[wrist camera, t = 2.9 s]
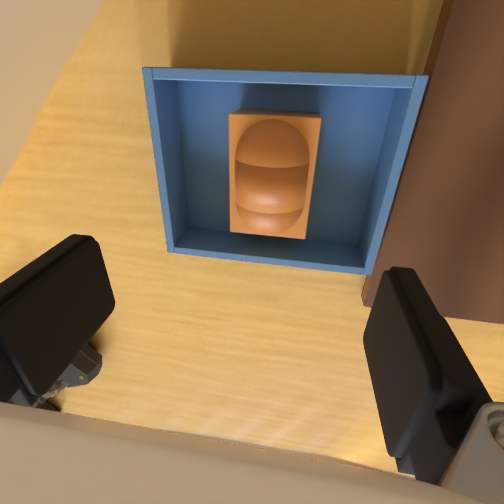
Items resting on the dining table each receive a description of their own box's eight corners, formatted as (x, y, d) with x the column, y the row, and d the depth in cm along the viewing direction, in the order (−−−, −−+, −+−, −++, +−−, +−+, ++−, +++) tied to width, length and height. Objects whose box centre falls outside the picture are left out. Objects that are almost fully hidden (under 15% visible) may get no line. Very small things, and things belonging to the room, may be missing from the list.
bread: (320, 112, 19) (323, 122, 15) (305, 220, 23) (304, 252, 19) (239, 108, 20) (220, 116, 16) (238, 214, 24) (223, 243, 20)
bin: (406, 75, 18) (429, 75, 15) (362, 248, 24) (371, 276, 21) (169, 68, 20) (141, 66, 16) (185, 230, 26) (167, 252, 23)
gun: (121, 401, 34) (6, 317, 30) (30, 448, 45) (-63, 392, 41) (141, 368, 38) (42, 289, 34) (53, 418, 49) (-29, 364, 45)
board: (753, -39, 14) (800, -51, 12) (519, 315, 25) (530, 328, 24) (453, -35, 15) (466, -44, 14) (360, 295, 27) (363, 306, 25)
